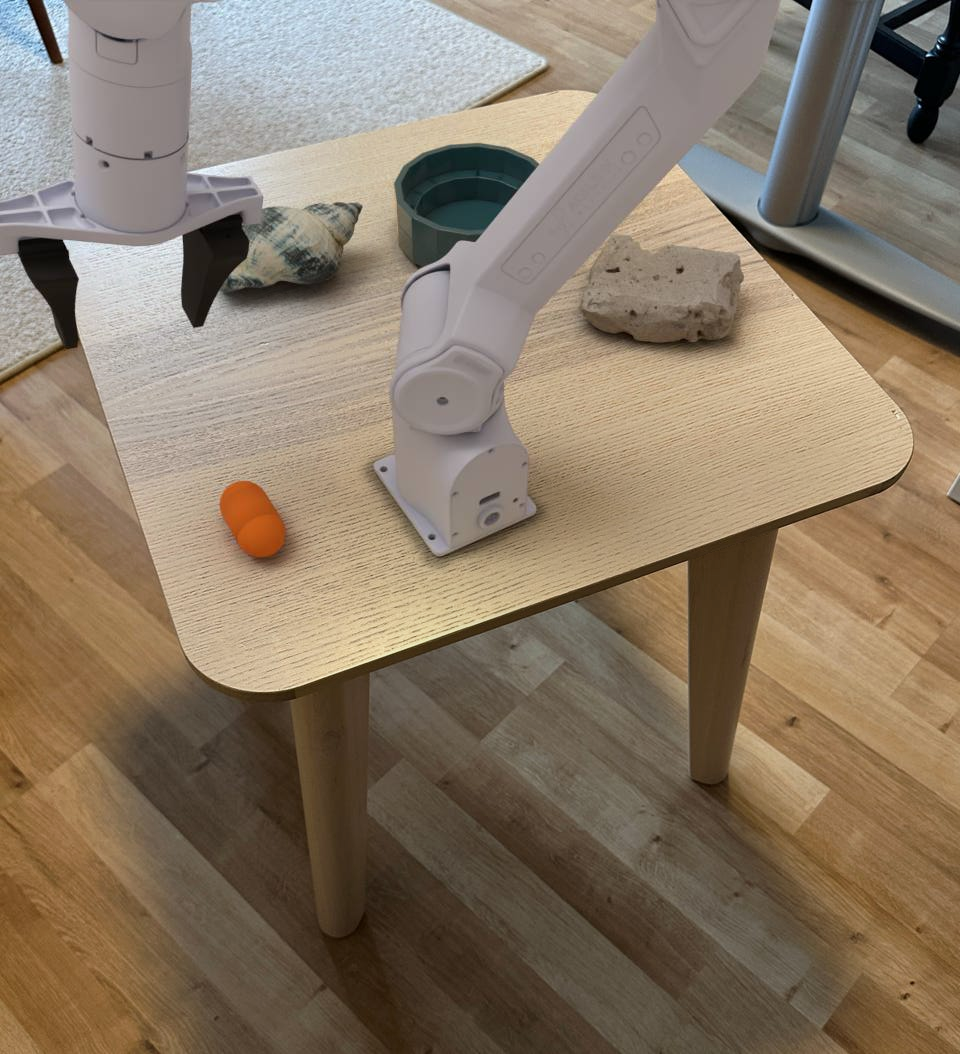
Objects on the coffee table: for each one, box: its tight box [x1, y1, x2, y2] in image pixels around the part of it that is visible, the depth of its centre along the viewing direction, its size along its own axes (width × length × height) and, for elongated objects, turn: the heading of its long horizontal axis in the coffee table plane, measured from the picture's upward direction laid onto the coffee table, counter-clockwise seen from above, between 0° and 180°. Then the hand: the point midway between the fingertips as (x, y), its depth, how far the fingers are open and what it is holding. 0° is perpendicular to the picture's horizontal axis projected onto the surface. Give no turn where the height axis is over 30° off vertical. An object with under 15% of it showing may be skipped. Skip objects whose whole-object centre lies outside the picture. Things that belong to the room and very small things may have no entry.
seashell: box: [219, 201, 364, 294], centre depth 88 cm, size 6×8×12 cm
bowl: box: [393, 142, 540, 268], centre depth 92 cm, size 13×13×5 cm
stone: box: [578, 233, 745, 343], centre depth 86 cm, size 13×6×10 cm
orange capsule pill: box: [219, 480, 287, 558], centre depth 71 cm, size 6×3×3 cm, turn 30°
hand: (131, 326), depth 65 cm, fingers open, 7 cm apart
